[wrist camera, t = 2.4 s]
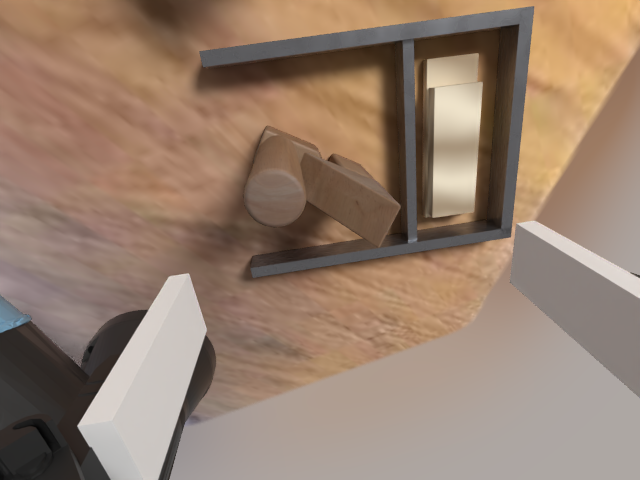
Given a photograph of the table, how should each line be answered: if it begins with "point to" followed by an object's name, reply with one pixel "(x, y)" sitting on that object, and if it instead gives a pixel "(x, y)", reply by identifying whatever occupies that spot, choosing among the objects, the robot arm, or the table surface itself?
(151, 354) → the robot arm
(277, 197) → the wooden block
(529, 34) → the tray
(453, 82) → the offcut stack
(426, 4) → the table surface
